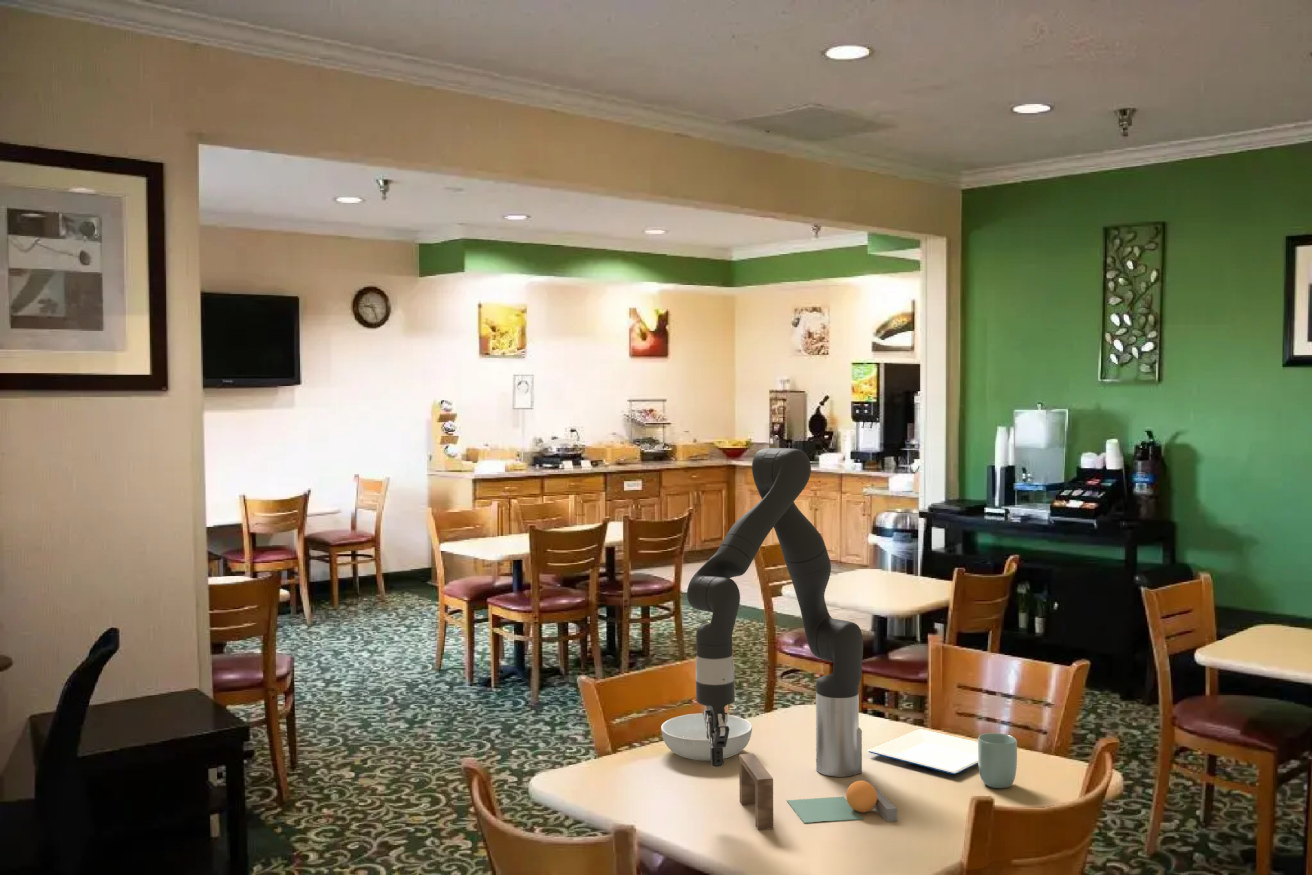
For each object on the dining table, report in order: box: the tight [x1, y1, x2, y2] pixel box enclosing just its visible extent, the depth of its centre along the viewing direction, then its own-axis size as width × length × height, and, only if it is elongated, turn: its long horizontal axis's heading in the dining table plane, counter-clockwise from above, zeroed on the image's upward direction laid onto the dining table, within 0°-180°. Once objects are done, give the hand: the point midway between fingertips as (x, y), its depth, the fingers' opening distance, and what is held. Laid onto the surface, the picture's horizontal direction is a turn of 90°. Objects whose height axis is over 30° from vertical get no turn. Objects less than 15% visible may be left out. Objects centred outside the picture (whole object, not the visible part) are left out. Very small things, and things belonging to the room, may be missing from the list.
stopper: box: [863, 779, 898, 823], centre depth 222 cm, size 2×16×2 cm, turn 9°
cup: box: [977, 732, 1018, 789], centre depth 234 cm, size 8×8×10 cm
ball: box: [845, 780, 877, 813], centre depth 220 cm, size 6×6×6 cm
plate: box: [867, 728, 978, 775], centre depth 253 cm, size 22×22×2 cm
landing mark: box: [786, 796, 865, 824], centre depth 220 cm, size 12×12×1 cm
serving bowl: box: [660, 712, 753, 762], centre depth 255 cm, size 21×21×7 cm
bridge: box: [738, 753, 774, 831], centre depth 218 cm, size 3×15×10 cm, turn 9°
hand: (716, 765), depth 217 cm, fingers closed
